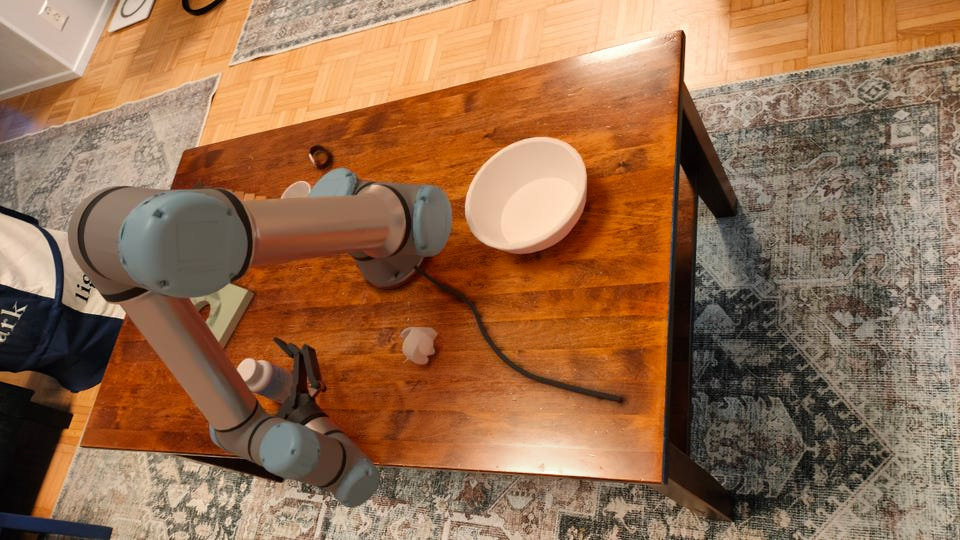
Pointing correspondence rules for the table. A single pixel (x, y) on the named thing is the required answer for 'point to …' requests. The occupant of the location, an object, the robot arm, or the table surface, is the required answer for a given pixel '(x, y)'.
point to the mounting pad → (224, 310)
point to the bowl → (527, 195)
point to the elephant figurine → (418, 343)
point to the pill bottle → (266, 379)
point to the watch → (312, 151)
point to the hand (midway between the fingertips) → (256, 369)
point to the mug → (297, 190)
